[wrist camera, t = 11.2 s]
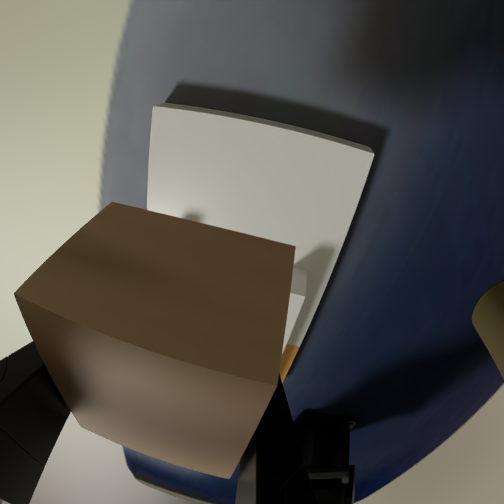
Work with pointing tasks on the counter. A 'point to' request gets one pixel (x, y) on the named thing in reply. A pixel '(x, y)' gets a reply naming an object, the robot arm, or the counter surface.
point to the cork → (492, 323)
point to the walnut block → (163, 332)
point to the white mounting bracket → (261, 190)
